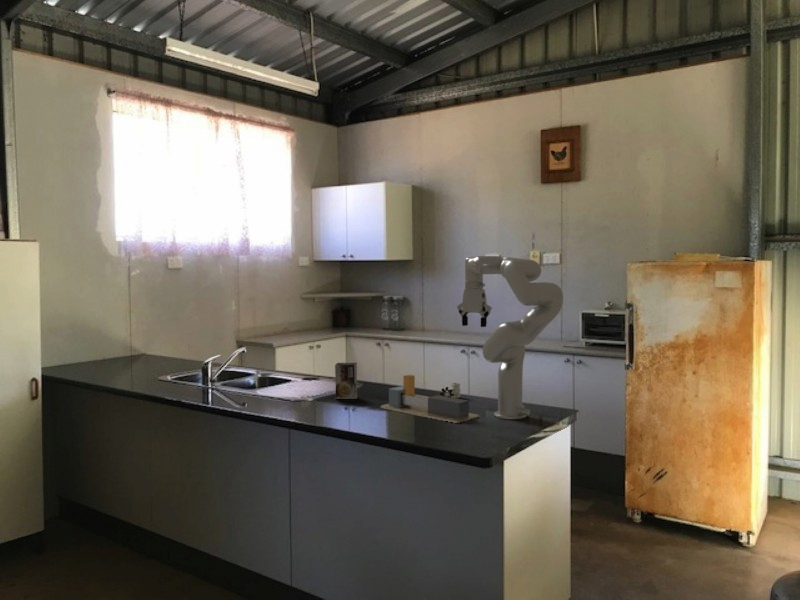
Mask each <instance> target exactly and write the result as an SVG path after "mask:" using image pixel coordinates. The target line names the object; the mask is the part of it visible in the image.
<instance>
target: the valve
mask: <svg viewBox="0 0 800 600" xmlns="http://www.w3.org/2000/svg"><path fill="white" fill-rule="evenodd" d="M441 391H442V392H440V393H439V396H444V397H450V398H452V397H454V398H456V399H460V398H461V383H459V382H452V383H451V388H450V389H449V387H448V386H446V387H445V388H441ZM459 397H460V398H459Z"/></svg>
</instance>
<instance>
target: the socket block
mask: <svg viewBox="0 0 800 600" xmlns="http://www.w3.org/2000/svg"><path fill="white" fill-rule="evenodd" d="M401 393H404V385H401V386H396V387H392V388H391V387H390V388H388V404H389V405H391V406H396V407H400V406H405V404H401Z"/></svg>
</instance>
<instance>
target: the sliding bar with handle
mask: <svg viewBox="0 0 800 600" xmlns="http://www.w3.org/2000/svg"><path fill="white" fill-rule="evenodd" d="M415 378H416V377H415V375H414V374H405V375H403V386H404V393H401V404H405V405H410V406H415V407H420V408H425V409H428V397H429V396H426V395H419V394H415V393H416V392H415V389H416V388H415V387H416V386H415V384H416V383H415V381H416V380H415Z"/></svg>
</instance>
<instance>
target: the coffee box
mask: <svg viewBox="0 0 800 600" xmlns="http://www.w3.org/2000/svg"><path fill="white" fill-rule="evenodd" d="M357 367H358V366H357V362H337V363H336V364H335V365H334V374H335V375H334V376H335V377H334V378H335V380H334V381H335V400H336V399H356V400H357V398H358V384H357V383H358V377H357V376H358V374H357V371H358V370H357Z"/></svg>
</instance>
